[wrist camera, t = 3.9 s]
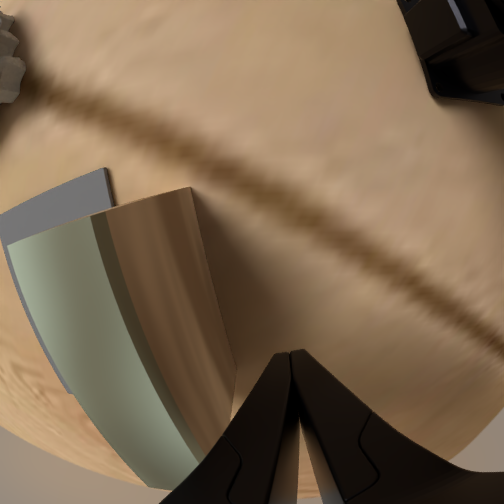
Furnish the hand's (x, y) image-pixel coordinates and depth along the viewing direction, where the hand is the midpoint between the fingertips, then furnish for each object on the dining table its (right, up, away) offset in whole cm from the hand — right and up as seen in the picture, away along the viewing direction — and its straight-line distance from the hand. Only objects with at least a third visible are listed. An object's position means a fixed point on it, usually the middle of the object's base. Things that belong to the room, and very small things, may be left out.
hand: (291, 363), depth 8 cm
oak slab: (-4, +1, +6) cm, 8 cm away
